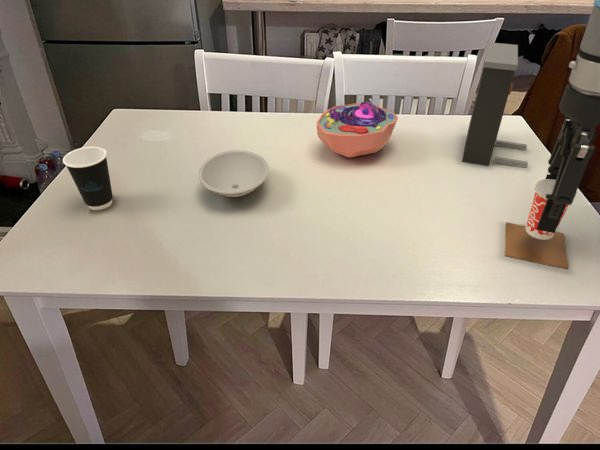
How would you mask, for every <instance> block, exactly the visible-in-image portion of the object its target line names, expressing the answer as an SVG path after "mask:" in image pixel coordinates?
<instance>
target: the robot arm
mask: <svg viewBox="0 0 600 450" xmlns="http://www.w3.org/2000/svg"><path fill="white" fill-rule="evenodd" d="M592 5H593V6H592V10H591V13H590V16H589V19H588V21H587V22H588V23H587V25H586V28H585V30H584V33H583V37H582V39H581V42H580V45H579V49H578V51H577V55H576V60H571V61H569V64H568V68H570V69H571V72H570V74H569V77H568V83H569V84H566V86H565V87H564V89H563V93H562V96H561V99H560V101H559V105H558V109H559V111H560V112H561V114H563V115H564V119H563V123H562V126H561V128H560V131H559V133H558V136H557V139H556V141H555V144H554V147H553V149H552V152H551V154H550V157H549V159H548V161H547V162H548V167H547V173H548V174H547V173H546V176H545V179H554V180H556V182H555V185H554V188H553V191H552V194H551V195H550V194H546V199H547V202H546V204H545V207H544V210H543V212H542V215H541V217H540V220H539V223H538V225H537V230H541V231H547V232H552V233H555V232H557V229H558V227H559V225H560V223H559V221H560V219H561V216H562V214H563V212H564V209H565V207H566V204H567V205H569V206H572V204H573V203H574V200H573V199H575V198H576V196H575V194H576V195H577V193H576V192H577V191H578V189H579V187H580V183H581V181H582V180H583V176H584V174H585V171H586V169H587V166H588V163H589V161H590V159H591V157H592V156H593V154H594V153H595V151H596V147H595V145H593V143H594V142H595V140H596V138H597V132H598V131H597V130H596V129H595V128H596V126H597V125H600V0H594V1H593V4H592ZM574 197H575V198H574ZM558 224H559V225H558ZM557 226H558V227H557ZM556 228H557V229H556Z"/></svg>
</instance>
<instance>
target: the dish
mask: <svg viewBox="0 0 600 450" xmlns="http://www.w3.org/2000/svg"><path fill="white" fill-rule="evenodd" d="M269 172H270V167H269V164H268V162H267V161H266V159H264V158H263V157H262V156H261V155H260V154H258V153H256V152H253V151H249V150H244V149H232V150H225V151H222V152H218V153H216V154H214V155H212V156H210V157H208V158H207V159H206V160H205V161H204V162H203V163H202V164H201V165H200V168H199V170H198V179H199V182H200V183H201V185H202V186H203V187H204V188H205V189H207V190H209V191H210V192H213V193H215V194H217V195H219V196H222V197H228V198H238V197H243V196H245V195H248V194H250V193H251V192H254V190H255V189H257V188H258V187H259V186H261V185H262V184H263V183H264V182H265V181H266V179H267V178H268V176H269Z"/></svg>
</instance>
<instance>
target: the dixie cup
mask: <svg viewBox="0 0 600 450" xmlns="http://www.w3.org/2000/svg"><path fill="white" fill-rule="evenodd" d="M107 156H108V151H107V150H106V149H104V148H103V147H99V146H83V147H80V148H76V149H73V150H72V151H69V152H68V153H66V154H65V155H64V156H63V158H62V163H63V164H64V165H65V167H66V168H67V170H68V173H69V174H70V176H71V178H72V180H73V183H74V184H75V186H76V188H77V190H78V192H79V194H80V196H81V198H82V200H83V202H84V204H85V205H86V206H87V208H88V209H89V210H92V211H101V210H105V209H108V207H110V206H111V205H112V204H113V197H114V195H113V190H112V184H111V177H110V171H109V166H108V158H107ZM108 203H109V204H108ZM106 204H107V205H106ZM104 205H105V206H104ZM89 206H91V207H89ZM101 206H103V207H101ZM93 207H98V208H93Z"/></svg>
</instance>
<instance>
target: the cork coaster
mask: <svg viewBox="0 0 600 450" xmlns="http://www.w3.org/2000/svg"><path fill="white" fill-rule="evenodd" d="M525 228H526V225H522V224H517V223H512V222H507V221H506V222H505V235H504V257H507V258H512V259H516V260H522V261H526V262H531V263H535V264H541V265H544V266H545V265H546V266H551V267H554V268H555V267H556V268H560V269H564V270H568V269H569V263H568V256H567V248H566V241H565V233H563V232H558V231H555V233H554V235H553V237H552V238H551V239H547V240H542V239H537V238H534V237H532V236H531V235H529V234H528V233H527V232H526V229H525Z"/></svg>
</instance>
